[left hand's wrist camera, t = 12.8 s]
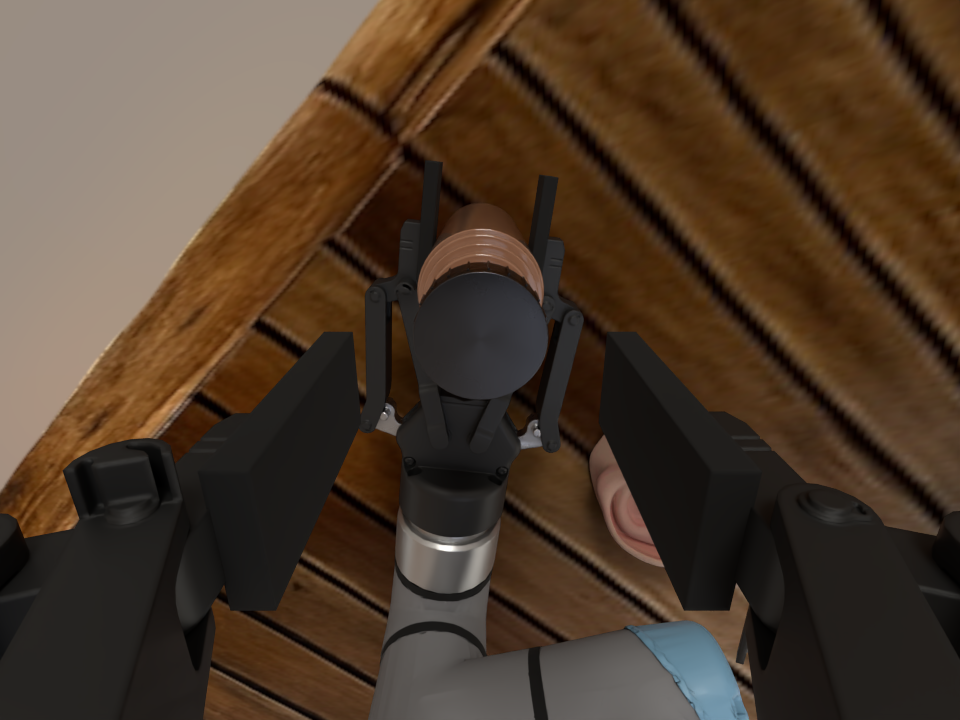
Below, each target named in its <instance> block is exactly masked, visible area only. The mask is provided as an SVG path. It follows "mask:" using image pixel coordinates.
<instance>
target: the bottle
mask: <svg viewBox="0 0 960 720" xmlns="http://www.w3.org/2000/svg"><path fill="white" fill-rule="evenodd" d="M468 261H470V263H473V262H487V261H490V263H494V264H499V265H502V266H504V267H506V266H508V267H509V269H511V270H513V271H514V272H516V273H517V274H519V275H520V276H521V277H522V276H524V277H525V279H526V281H527V282H528V284H529V285H530V286H531V287H532V289H533V290H534V291H535V290H536V292H537V294H538V297H539V299H540V305H541V307H542V304H543V297H544V284H543V278H542V274H541V270H540V268H539V266H538V263H537V261H536V260H535V258H534V256H533V254H532V252H531V251H530V249H529V247H528V245H527V243H526V242H525V240H524V238H523V236H522V235H521V233H520V231H519V229H518V227H517V226H516V224H515V222H514V220H513V219H512V218H511V217H510V216H509V215H508V214H507V213H506V212H505V211H504V210H502V209H501V208H499V207H497V206H494V205H491V204H487V203H475V204H470V205H467V206H464V207H462V208H460V209H459V210H457V211H456V212H455V213H454V214H453V215H452V216H451V217H450V218H449V219H448V221H447V222H446V224H445V226H444V228H443V229H442V231H441V233H440V235H439V237H438V238H437V240H436V242H435V244H434V246H433V247H432V249H431V251H430V253H429V255H428V256H427V258H426V260H425V262H424V264H423V266H422V268H421V271H420V275H419V279H418V287H417V294H418V302H419V304H420V301H421V299H422V297H423V294H426V292H427V291H428V289H429V288H430V286H431V285H432V283H433V281H434V279H436V280H437V279H438V278H439V277H440V276H441V275H443V274H444V273H446V272H447V271H448V270H449V268H452V269H453V268H455V267H457V266H460V265H463V264H467V262H468ZM419 307H420V305H419Z"/></svg>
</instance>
